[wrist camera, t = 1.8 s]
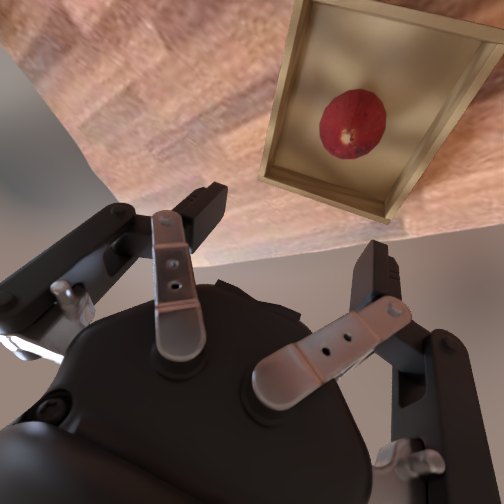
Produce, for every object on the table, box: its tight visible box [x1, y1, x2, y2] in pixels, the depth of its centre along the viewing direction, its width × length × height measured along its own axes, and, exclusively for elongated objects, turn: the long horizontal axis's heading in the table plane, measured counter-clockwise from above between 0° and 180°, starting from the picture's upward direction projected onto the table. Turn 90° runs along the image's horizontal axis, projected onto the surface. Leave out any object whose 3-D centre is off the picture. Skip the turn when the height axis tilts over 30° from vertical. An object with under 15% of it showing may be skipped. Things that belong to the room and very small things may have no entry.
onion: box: [319, 89, 387, 159], centre depth 24 cm, size 6×6×8 cm
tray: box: [258, 0, 504, 225], centre depth 25 cm, size 16×15×4 cm
